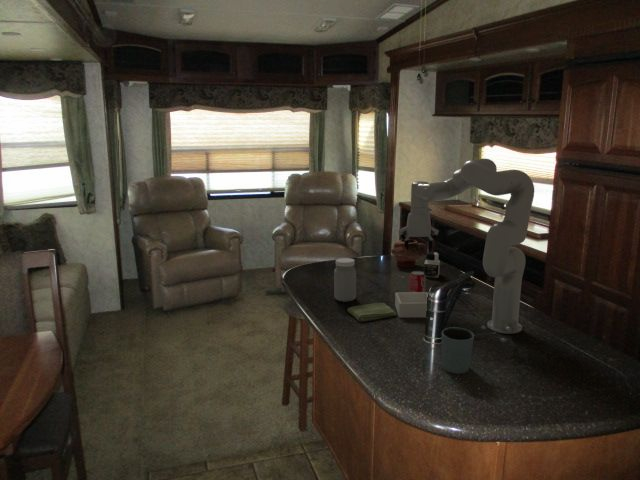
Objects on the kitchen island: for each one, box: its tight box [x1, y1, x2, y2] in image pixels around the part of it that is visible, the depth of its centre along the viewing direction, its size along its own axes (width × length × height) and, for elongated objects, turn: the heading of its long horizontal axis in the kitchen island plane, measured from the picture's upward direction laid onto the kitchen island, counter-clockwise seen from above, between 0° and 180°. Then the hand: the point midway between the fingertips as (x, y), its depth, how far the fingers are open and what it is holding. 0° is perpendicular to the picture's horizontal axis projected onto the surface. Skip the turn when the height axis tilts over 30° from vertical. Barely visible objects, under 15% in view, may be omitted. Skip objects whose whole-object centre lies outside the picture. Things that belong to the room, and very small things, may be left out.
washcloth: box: [346, 302, 398, 323], centre depth 219 cm, size 13×18×3 cm
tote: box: [394, 291, 429, 318], centre depth 221 cm, size 14×14×6 cm
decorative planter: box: [390, 238, 428, 269], centre depth 289 cm, size 20×12×14 cm, turn 105°
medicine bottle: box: [423, 251, 441, 279], centre depth 270 cm, size 7×7×12 cm
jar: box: [333, 257, 357, 303], centre depth 236 cm, size 10×10×18 cm
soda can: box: [408, 270, 427, 292], centre depth 236 cm, size 7×7×12 cm
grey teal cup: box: [441, 326, 475, 375], centre depth 171 cm, size 10×10×12 cm
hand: (417, 249), depth 233 cm, fingers open, 9 cm apart
